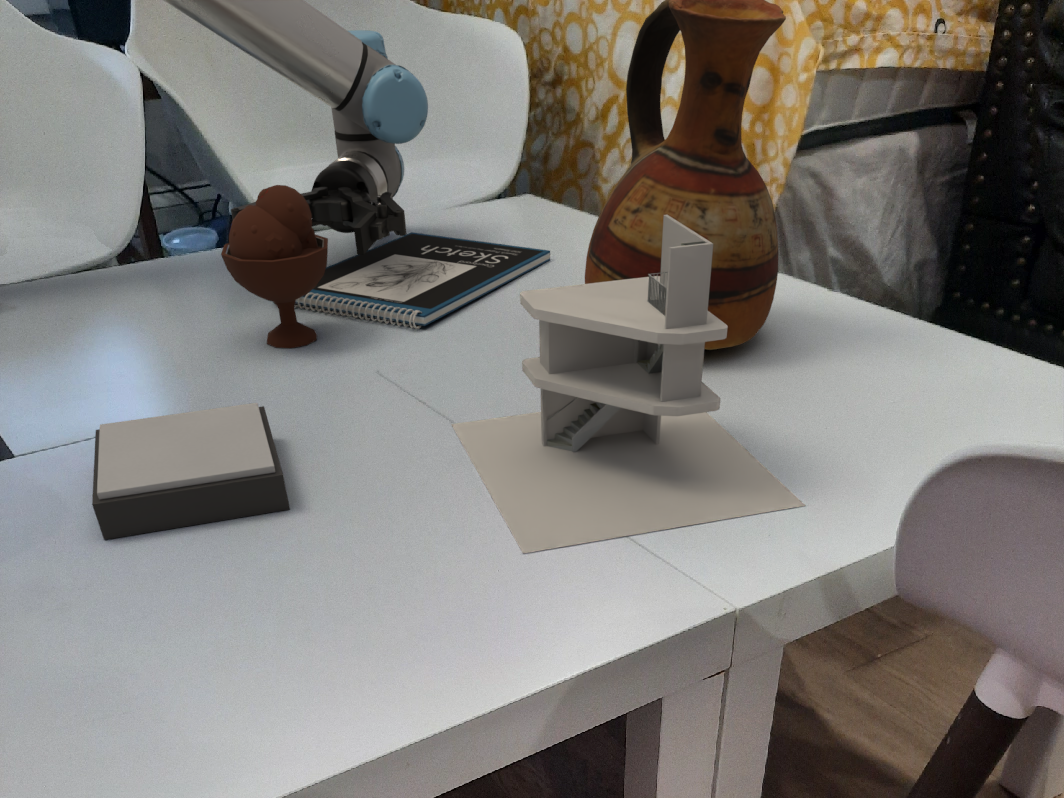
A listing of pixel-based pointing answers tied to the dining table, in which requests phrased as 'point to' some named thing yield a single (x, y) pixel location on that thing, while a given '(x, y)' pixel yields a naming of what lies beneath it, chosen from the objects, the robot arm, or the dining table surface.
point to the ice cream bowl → (278, 257)
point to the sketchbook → (418, 278)
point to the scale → (185, 470)
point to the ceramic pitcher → (696, 162)
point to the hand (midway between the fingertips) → (297, 240)
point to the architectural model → (621, 414)
